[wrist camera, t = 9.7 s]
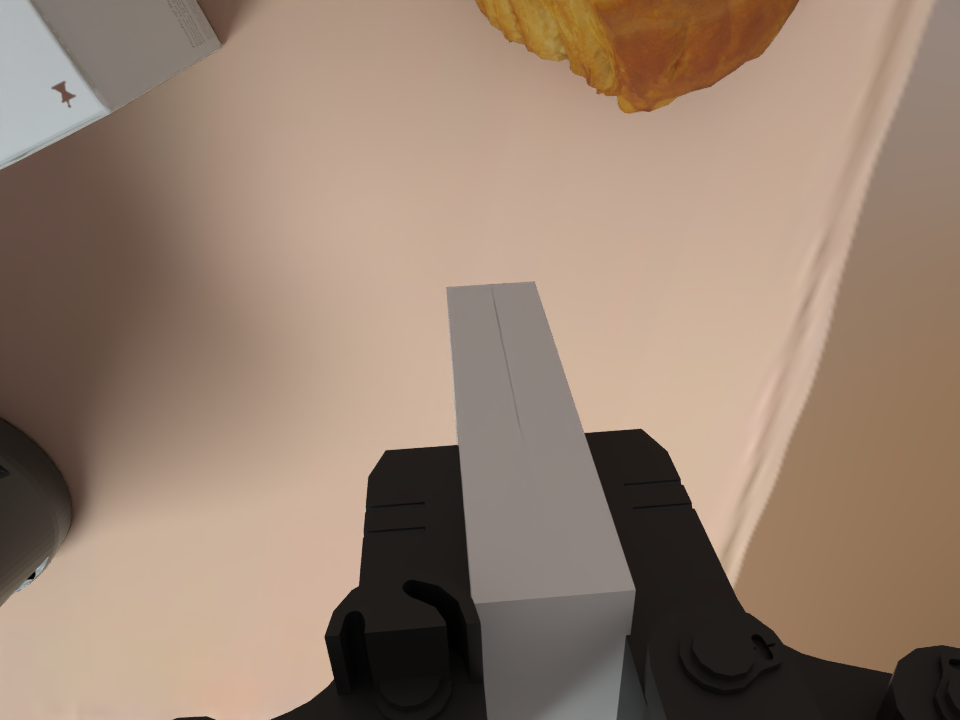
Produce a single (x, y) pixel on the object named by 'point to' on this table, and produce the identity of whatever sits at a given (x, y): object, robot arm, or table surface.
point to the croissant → (643, 41)
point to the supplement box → (87, 62)
